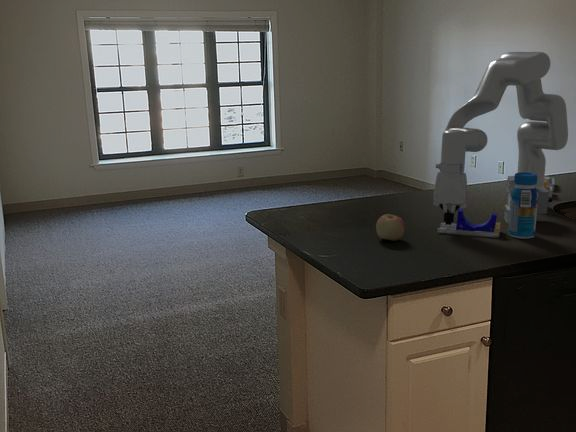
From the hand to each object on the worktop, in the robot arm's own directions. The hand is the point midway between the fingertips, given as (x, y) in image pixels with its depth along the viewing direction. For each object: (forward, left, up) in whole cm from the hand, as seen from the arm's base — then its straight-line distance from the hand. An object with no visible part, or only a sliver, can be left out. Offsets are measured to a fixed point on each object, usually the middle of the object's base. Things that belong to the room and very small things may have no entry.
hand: (448, 223), depth 208 cm
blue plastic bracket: (-1, +8, -2) cm, 9 cm away
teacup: (-77, +28, -3) cm, 82 cm away
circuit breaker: (-21, +24, -3) cm, 32 cm away
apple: (+15, -16, -3) cm, 22 cm away
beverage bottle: (-2, +23, -3) cm, 23 cm away
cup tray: (-79, +26, -3) cm, 83 cm away
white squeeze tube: (-1, +6, -3) cm, 7 cm away
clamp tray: (-63, +24, -3) cm, 67 cm away
